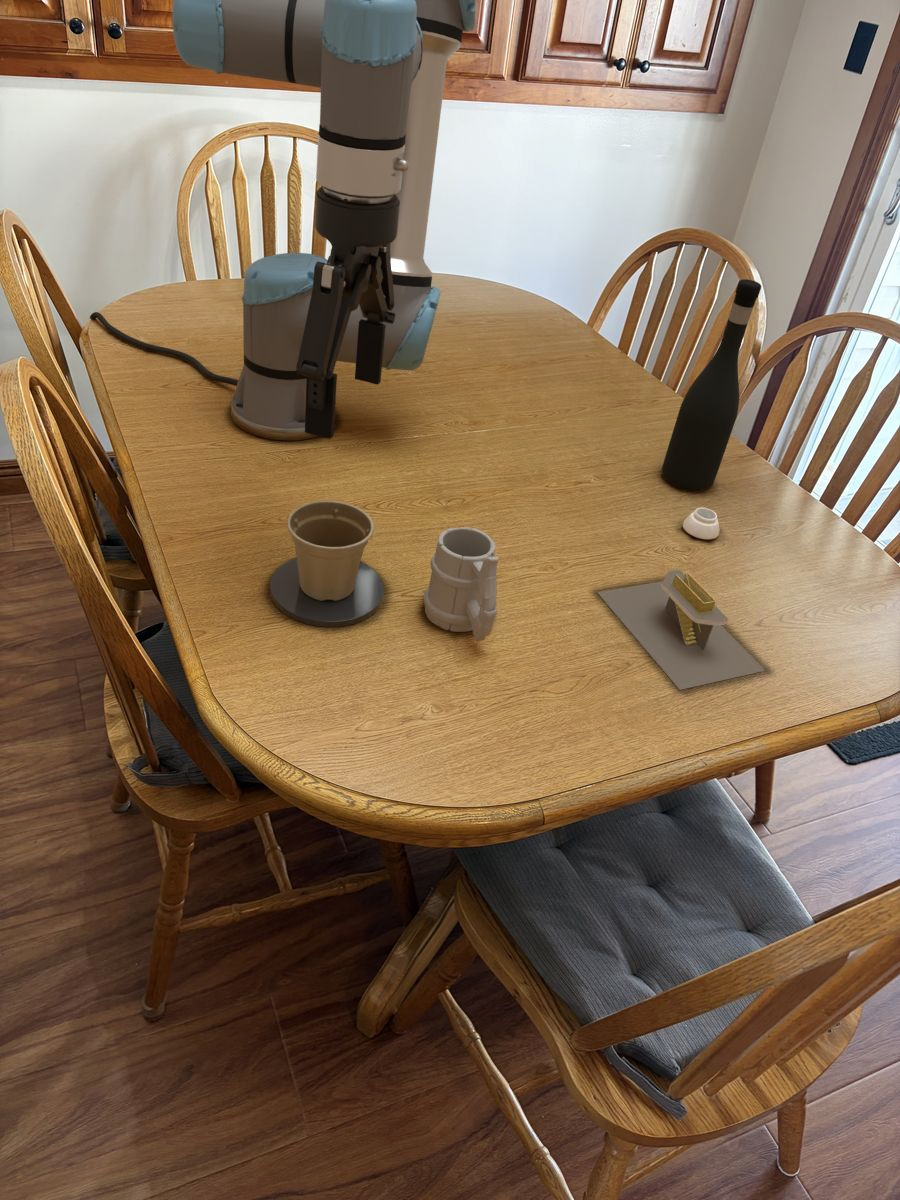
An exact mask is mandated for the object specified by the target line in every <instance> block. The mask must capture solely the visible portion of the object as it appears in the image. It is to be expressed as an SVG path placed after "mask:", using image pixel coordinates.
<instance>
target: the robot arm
mask: <svg viewBox="0 0 900 1200" xmlns="http://www.w3.org/2000/svg"><path fill="white" fill-rule="evenodd" d="M171 16H172V30H173V39H174V43H175V48H176V51H177V53H178V55H179V57H180V59H181V60H182V62H183V63H185V64H186V65H187V66H188V67H189V66H190V67H194V68H197V69H202V70H206V71H207V70H208V71H211V72H214V73H215V74H217V75H222V74H228V75H234V76H239V77H247V78H255V79H260V80H261V79H262V80H267V81H269V80H270V81H274V82H275V81H276V82H283V83H289V84H294V85H295V84H296V85H301V86H307V87H314V88H318V89H320V102H319V103H320V104H319V105H320V107H319V124H318V133H317V134H318V135H317V151H316V156H317V157H316V171H315V172H316V173H315V180H316V182H317V183H318V184H319V185H320V187H319V188H318V189H317V190H316V192H315V212H314V213H315V214H314V229H315V230H316V232H317V233H318V235H319V236H321V237H322V238H324V239H326V240H327V241H328V242H329V243H330V245H331V249H330V253H329V256H328V258H326V257H324V256H318V254H314V253H307V252H306V253H305V252H286V253H284V252H283V253H277V254H272V255H268V256H264V257H261V258H259V259H257V260H255V261H254V262H252V263H251V264H250V265H248V267H247V268H246V270H245V272H244V277H243V291H242V292H243V294H242V296H241V301H242V306H243V307H242V315H243V316H242V317H243V318H242V323H243V325H242V329H243V330H242V331H243V334H242V335H243V366H242V369H241V372H240V375H239V377H238V379H236V378H232V377H228V376H224V375H220V374H216V373H213V372H212V371H210V370H208V368H206V367H205V366H204V365H203V364H202V363H201V362H200V361H199V360H197V359H196V358H195V357H193V356H192V355H190V354H188V353H185V352H182V351H180V350H177V349H173V348H168V347H163V346H159V345H155V344H151V343H148V342H145V341H142V340H139V339H136V338H134V337H132V336H130V335H128V334H126V333H124V332H123V331H121V330H119V329H118V328H116V327H115V326H113V325H112V324H110V323H109V322H108V320H107V319H106V318H105V316H104V315H103V314H102V313H100V311H99V312H98V311H94V312H92V313H91V314H90V316H89V319H90V320H96V319H97V320H98V321H99V322H100V323H101V325H102V326H103V327H104V328H105V329H106V330H107V331H108V332H110V333H111V334H113V335H115V336H116V337H118V338H120V339H121V340H123V341H125V342H126V343H128V344H129V343H130V344H131V345H133V346H135V347H138V348H141V349H144V350H148V351H151V352H155V353H160V354H164V355H169V356H173V357H176V358H179V359H182V360H185V361H186V362H188V363H189V364H192V365H193V366H194V368H196V369H197V370H198V371H199V372H200V373H201V374H202V375H204V376H205V377H206V378H207V379H211V380H212V381H214V382H218V383H222V384H223V383H224V384H228V385H231V386H234V387H235V389H234V392H233V394H232V398H231V401H230V415H231V419H232V421H233V422H234V424H235V425H237V426H238V427H239V428H240V429H241V430H243V431H245V432H247V433H249V434H252V435H254V436H256V437H257V436H258V437H261V438H263V439H264V438H265V439H269V440H277V441H301V440H308V439H313V438H316V437H320V438H325V439H327V440H332V438H333V437H334V434H335V420H336V404H337V403H336V399H337V385H338V384H337V383H338V374H337V373H335V372H334V371H335V367H336V364H337V362H342V363H348V364H349V363H350V364H355V370H354V380H358V381H362V382H365V383H369V384H373V385H376V386H379V385H380V383H382V382H381V380H382V371H383V370H382V369H383V368H384V369H385V370H386V371H390V370H400V371H414V370H417V369H418V368H420V367H421V365H422V364H423V362H424V358H425V355H426V352H427V347H428V344H429V340H430V336H431V332H432V329H433V325H434V321H435V317H436V313H437V308H438V305H439V301H440V298H441V290H440V289H439V288H438V287H436V286H432V281H433V272H432V271H431V269H430V268H429V266H428V265H427V263H426V262H425V258H424V257H425V247H426V241H427V232H428V222H429V214H430V206H431V197H432V189H433V182H434V173H435V164H436V155H437V148H438V147H437V146H438V139H439V138H438V137H439V130H440V121H441V114H442V106H443V97H444V89H445V79H446V71H447V63H448V61H449V58H450V57H451V56H453V55H454V54H455V53H456V52H457V51H458V50H459V49H460V48H461V47H462V42H463V32H465V33H469V32H473V31H474V30H475V28H476V0H172V15H171Z"/></svg>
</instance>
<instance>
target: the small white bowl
mask: <svg viewBox="0 0 900 1200" xmlns="http://www.w3.org/2000/svg"><path fill="white" fill-rule="evenodd" d="M682 528H683V530H684V531H685V532H686V533H688V534H689V535H691V536H693V537H695V538H697V539H702V540H714V539H716V538H718V537H719V535H720V531H721V529H720V524H719V520H718V514H717V513H716V512H715V511H714V510H712V509H710V508H707V507H698V508H696V509H694V511H692V512H691V513H690V514H689V515H688V516H687V517H685V518H684V519H683V522H682Z"/></svg>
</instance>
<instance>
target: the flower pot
mask: <svg viewBox="0 0 900 1200" xmlns="http://www.w3.org/2000/svg"><path fill="white" fill-rule="evenodd" d="M286 527H287V530H288V532H289V534H290V535H291V539H292V542H293V543H294V548H295V555H296V558H297V564H298V572H299V583H300V586H301V589H302V590H303V592H304V593H305V594H307V595H308V596H310V597H312V598H314V599H317V600H320V601H323V600H334V601H337V600H340V599H343V598H345V597H347V596H349V595H350V594H351V593H352V591H353V590H354V587H355V581H356V577H357V573H358V569H359V565H360V562H362V559H363V553H364V550H365V548H366V546H367V545H368V543H369V540H370V539H371V538H372V536H373V535H374V531H375V523H374V521H373V519H372V518H371V516H370V515H369V514H368V513H367V512H366V511H365V510H363V509H362V508H359V507H358V506H356V505H353V504H350V503H348V502H343V501H338V500H330V499H329V500H327V499H326V500H315V501H310V502H306V503H303V504H301V505H299V506H298V507H295V509H293V510H292V511H291V512H290V513H289V515H288V517H287V520H286Z"/></svg>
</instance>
